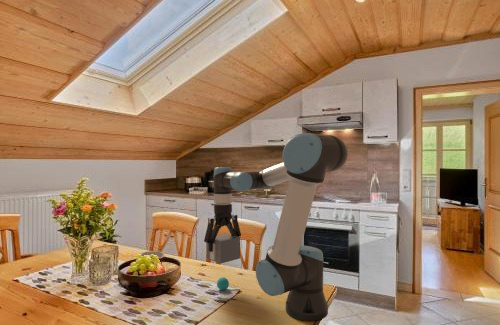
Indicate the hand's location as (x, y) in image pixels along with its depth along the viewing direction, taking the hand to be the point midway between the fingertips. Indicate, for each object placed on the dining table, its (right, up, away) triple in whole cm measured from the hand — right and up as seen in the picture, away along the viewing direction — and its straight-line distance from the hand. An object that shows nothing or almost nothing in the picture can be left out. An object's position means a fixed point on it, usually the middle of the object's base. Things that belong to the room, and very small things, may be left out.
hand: (223, 256), depth 131 cm
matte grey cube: (0, -1, 0) cm, 1 cm away
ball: (0, -12, 0) cm, 12 cm away
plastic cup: (-33, -14, +11) cm, 38 cm away
